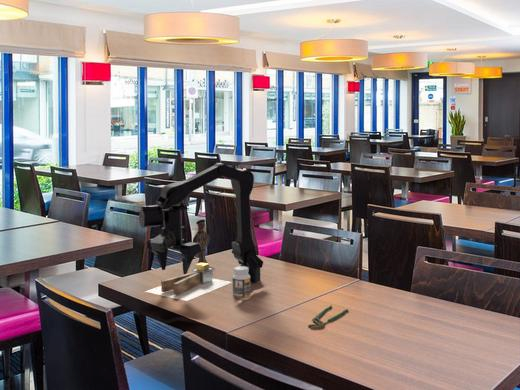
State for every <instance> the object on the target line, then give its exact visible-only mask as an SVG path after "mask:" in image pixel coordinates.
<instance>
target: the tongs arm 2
mask: <svg viewBox="0 0 520 390" xmlns="http://www.w3.org/2000/svg"><path fill="white" fill-rule="evenodd" d="M198 284H200V273H195V274H193V275H191V276H189V277H187V278H184V279H182V280H180V281H178V282H176V283H174V284H173V287H174V295H178V294H180V293H182V292H184V291H186V290H188V289H190V288H192V287H194V286H196V285H198Z"/></svg>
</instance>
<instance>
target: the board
mask: <svg viewBox="0 0 520 390" xmlns="http://www.w3.org/2000/svg"><path fill="white" fill-rule="evenodd" d="M230 284H233V281H227V280H223V279H222V280H221V279H219V278H218V279H217V278H213V277H212V281H211V282H209V283H206V284H198V285H196V286H194V287H192V288H190V289H188V290H186V291H184V292H182V293H180V294H178V295H174V290H171V291H167V292H162V290H161V285H159V286H156V287H154V288H151V289H148V290H146V291H144V293H147V294H154V295H158V296H162V297H167V298H171V299H175V300H180V301H184V302H185V301H186V302H188V301H190V300H192V299H195V298H198V297H200V296H202V295H205V294H208V293H211V292H213V291H214V290H217V289H220V288H222V287H224V286H227V285H230Z"/></svg>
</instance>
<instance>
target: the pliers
mask: <svg viewBox="0 0 520 390" xmlns="http://www.w3.org/2000/svg"><path fill="white" fill-rule="evenodd" d="M332 309H333V305H331V304H330V305H329V306H328V307H326V308H324V309H323V310H322V311H321V312H319V313H318V314H317V315H316V316H314V317H313V318H312V319H311V320H312V322H314V323H315V324H314V323H312V324H308V325H307V327H308V328H309V329H310V330H322V329H323V328H324V327H325V326H327V325H328V324H330V323H332V322H334V321H336V320H337V319H339V318H341V317H343V316H344V315H345V314H347V313H349V309H348V308H346V309H345V310H342V311H341V312H340V313H338V314H336V315H334V316H331V317H329V319H327V321H326V322H323V321H322V320H321V318H322V317H323V316H324V315H325V314H327V312H328V311H330V310H332Z"/></svg>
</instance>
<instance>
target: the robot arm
mask: <svg viewBox="0 0 520 390" xmlns="http://www.w3.org/2000/svg"><path fill="white" fill-rule="evenodd" d="M221 177H223V178H225V179H228V180H230V183H231V188H232V190H233V192H234V195H235V206H236V207H235V209H236V212H235V213H236V231H237V233H236V234H237V236H236V239H235V241H231V248H232V250H231V254H233V258H234V259H235V260H237V263H238V264H239V265H240V266H245V267H248V268H249V272H248V274H249V275H250V277H251V284H257V283H259V282H261V268H263V264H264V261H263V260H262V259H261V258H260V257H259V256H258V253H257V249H256V245H255V243H254V241H253V238H252V226H251V225H252V223H251V222H252V221H251V219H252V218H251V193H252V192H253V189H254V184H255V175H254V174H253V172H251V170H248V169H243V168H234V167H232V166H229V165H227V164H225V163H221V162H217V163H215V164H213V166H210V167H208V168H207V169H205V170H202V171H201V172H199V173H196V174H195V175H192V176H191V177H189V178H186V179H184V180H181V181H176V182H173V183H168V184H165V185H163V187H162V188H161V190H160V195H159V196H158V198H157V199H156V201H155V203H154V205H141V206H140V210H139V215H138V222H139V225H140V227H141V228H153V227H160V226H161V225H162V224H163V227H162V228H161V227H160V228H161V230H160V234H159V235H157V236H155V237H154V238H149V239H148V240H147V242H146V249H148V250H149V251H150V252H152V253H153V254H154V255H155V256H156V258H157V261H158V263H159V265H160V268H161V270H162V271H165V270H166V267H167V260H168V259H167V258H168V252H169V251H168V250H169V249H171V250H173V249H174V250H178V251H179V252H180V253H181V254H179V256H180V258H181V259H182V261H181V262H182V272H183V275H185V274H188V271H189V270H190V267H191V265H192V262H193V261H194V258H195V256H197V255H199V252H201V245H200V244H199V243H193V241H190V242H187V243H185V242H186V239H184V238H183V231H185V229H186V228H185V226H183V221H182V220H183V219H182V211H187V210H188V209H189V207H187V206H186V205H185V204H184V203H183V201H185V200H186V199H187V198H188V197H189V195H190V194H192V193H193V192H194V191H196V190H198V189H200V188H203V187H204V186H206V185H208V184H210V183H211V182H213V181H215V180H217V179H220V178H221Z"/></svg>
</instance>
